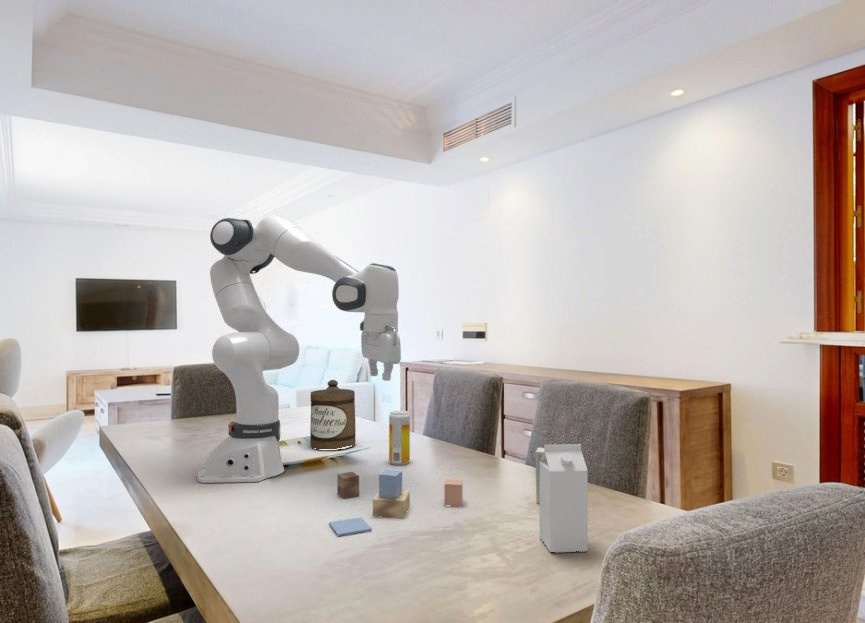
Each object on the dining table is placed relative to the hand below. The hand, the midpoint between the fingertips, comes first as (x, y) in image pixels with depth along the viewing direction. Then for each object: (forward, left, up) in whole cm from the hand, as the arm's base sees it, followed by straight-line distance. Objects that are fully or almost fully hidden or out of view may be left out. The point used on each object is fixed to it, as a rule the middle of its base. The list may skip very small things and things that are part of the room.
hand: (380, 378), depth 147 cm
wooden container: (-8, +44, -27) cm, 52 cm away
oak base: (-1, -23, -27) cm, 36 cm away
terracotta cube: (+14, -21, -27) cm, 37 cm away
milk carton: (+27, -49, -27) cm, 62 cm away
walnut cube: (-9, -9, -27) cm, 30 cm away
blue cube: (-2, -23, -23) cm, 33 cm away
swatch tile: (-11, -30, -27) cm, 42 cm away
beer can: (+9, +17, -27) cm, 33 cm away
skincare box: (+36, -26, -27) cm, 52 cm away
